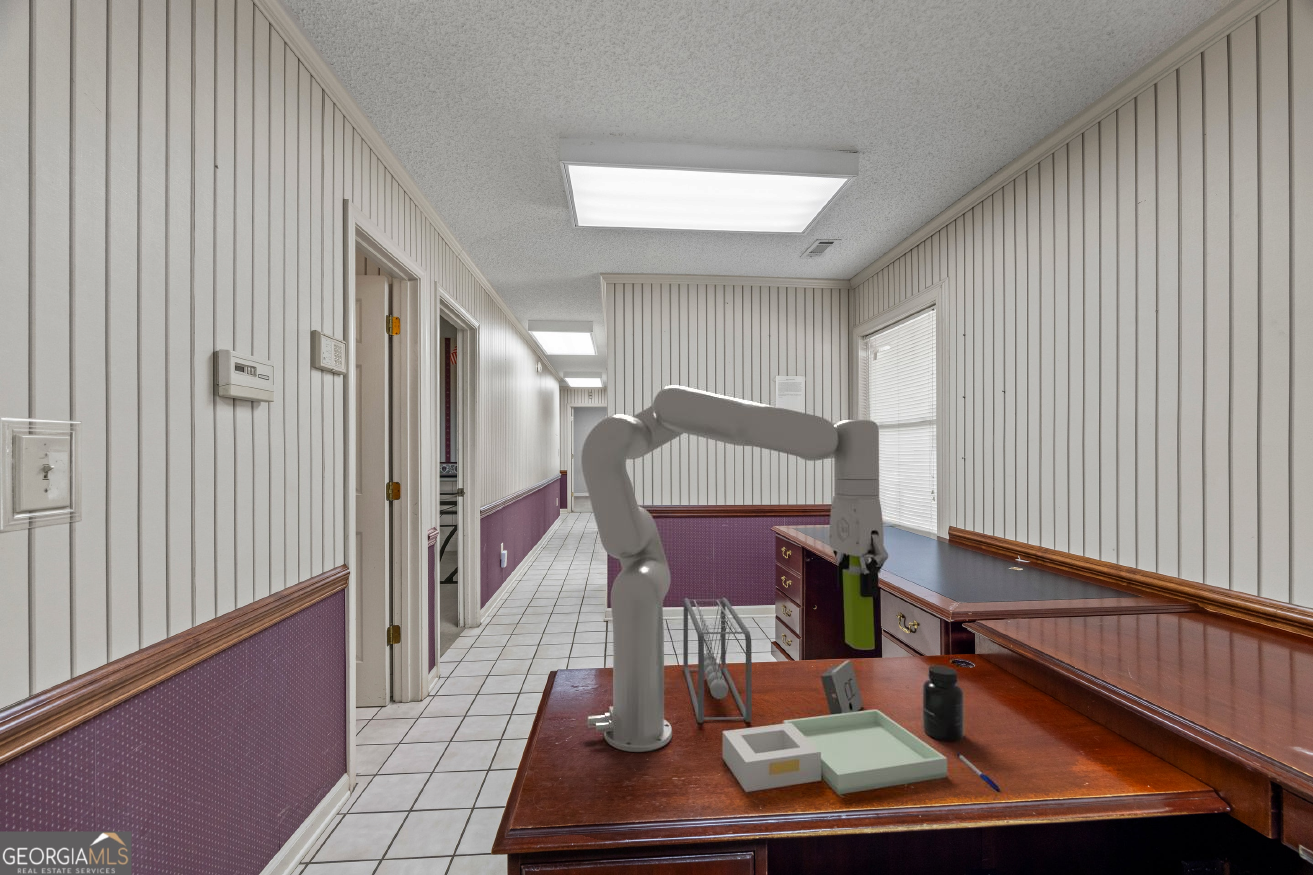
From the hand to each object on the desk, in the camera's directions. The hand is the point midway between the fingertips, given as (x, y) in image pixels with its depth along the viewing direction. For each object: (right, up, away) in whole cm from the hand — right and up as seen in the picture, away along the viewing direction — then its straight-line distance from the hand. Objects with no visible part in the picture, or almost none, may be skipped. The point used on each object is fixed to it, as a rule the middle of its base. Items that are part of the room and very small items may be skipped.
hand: (857, 590), depth 96 cm
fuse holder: (-16, -28, -5) cm, 33 cm away
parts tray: (0, -28, -1) cm, 28 cm away
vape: (0, -9, -1) cm, 9 cm away
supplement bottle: (+19, -29, +7) cm, 35 cm away
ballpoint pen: (+18, -29, -6) cm, 34 cm away
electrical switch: (+3, -29, +16) cm, 34 cm away
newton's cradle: (-23, -30, +24) cm, 45 cm away
